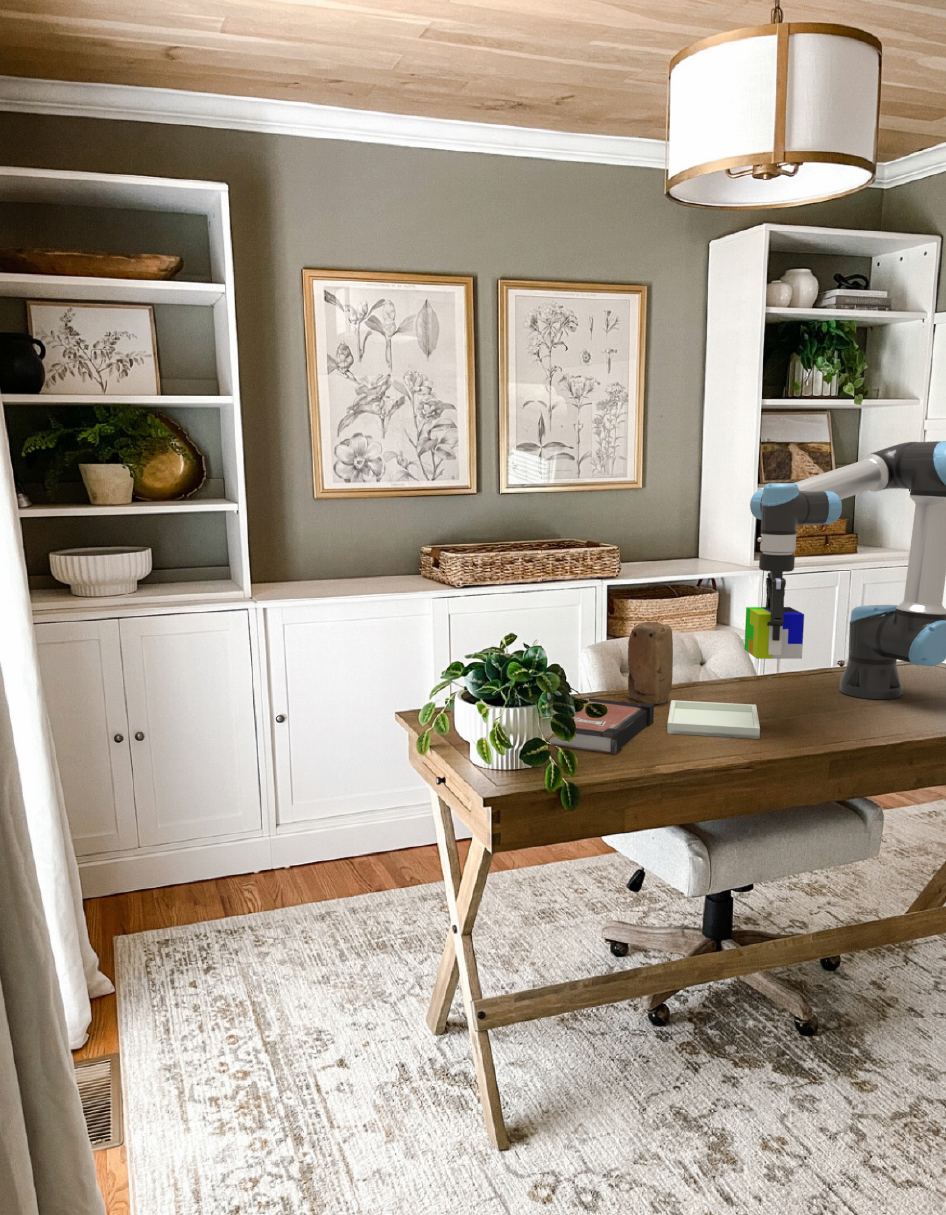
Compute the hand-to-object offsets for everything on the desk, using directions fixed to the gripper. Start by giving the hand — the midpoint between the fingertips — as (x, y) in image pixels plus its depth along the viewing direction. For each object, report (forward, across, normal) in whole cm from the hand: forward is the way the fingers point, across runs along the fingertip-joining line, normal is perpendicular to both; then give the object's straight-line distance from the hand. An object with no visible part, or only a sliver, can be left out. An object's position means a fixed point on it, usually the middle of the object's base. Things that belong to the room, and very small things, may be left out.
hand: (772, 649), depth 215 cm
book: (+19, +11, -38) cm, 44 cm away
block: (+19, -19, -28) cm, 39 cm away
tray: (+18, -1, -12) cm, 22 cm away
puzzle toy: (+1, 0, 0) cm, 1 cm away
